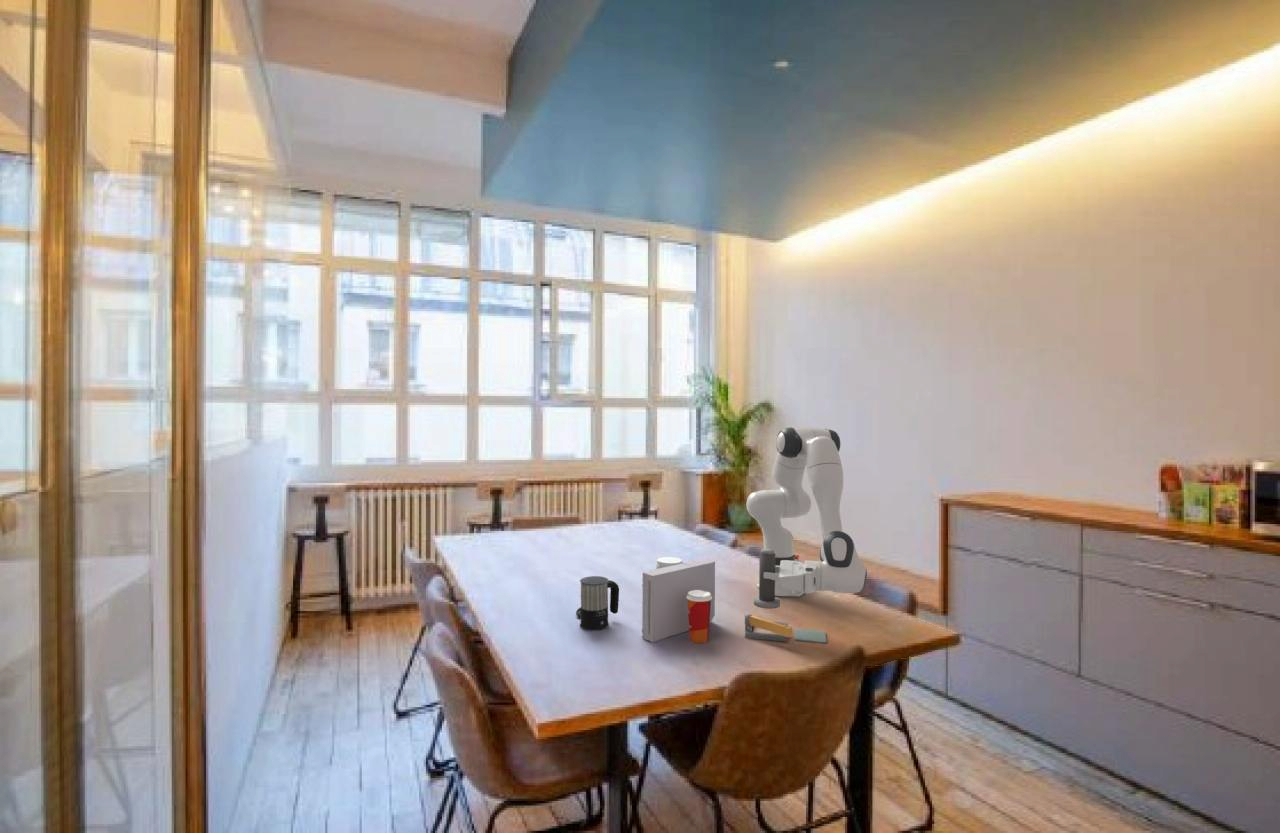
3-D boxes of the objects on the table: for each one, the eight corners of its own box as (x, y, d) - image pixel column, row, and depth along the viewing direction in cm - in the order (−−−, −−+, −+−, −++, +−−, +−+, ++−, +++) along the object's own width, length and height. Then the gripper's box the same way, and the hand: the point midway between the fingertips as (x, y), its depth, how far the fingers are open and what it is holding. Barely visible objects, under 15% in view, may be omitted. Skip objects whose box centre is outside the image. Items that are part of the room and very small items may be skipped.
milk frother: (596, 633, 185) (596, 585, 185) (557, 623, 194) (558, 577, 194) (623, 620, 197) (623, 575, 197) (585, 611, 206) (585, 568, 206)
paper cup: (695, 633, 186) (695, 587, 186) (716, 639, 181) (716, 592, 181) (680, 640, 180) (681, 593, 180) (702, 646, 175) (702, 598, 175)
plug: (754, 599, 192) (755, 546, 192) (780, 601, 190) (780, 548, 189) (752, 607, 184) (753, 552, 184) (779, 609, 182) (780, 554, 182)
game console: (639, 637, 182) (639, 571, 182) (701, 617, 200) (702, 558, 200) (651, 642, 178) (652, 575, 178) (714, 622, 195) (715, 561, 195)
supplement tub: (651, 602, 216) (651, 561, 216) (661, 594, 225) (661, 555, 225) (676, 605, 212) (677, 564, 212) (686, 598, 221) (686, 558, 221)
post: (745, 632, 186) (745, 622, 186) (751, 633, 185) (751, 623, 185) (744, 635, 184) (744, 624, 184) (751, 635, 184) (751, 625, 184)
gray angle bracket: (748, 623, 194) (748, 619, 194) (788, 627, 191) (788, 622, 191) (745, 637, 182) (745, 632, 182) (787, 641, 179) (787, 637, 179)
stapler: (743, 623, 185) (743, 615, 185) (747, 621, 186) (747, 613, 186) (787, 637, 173) (787, 628, 173) (792, 635, 175) (792, 626, 175)
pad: (795, 629, 189) (795, 628, 189) (825, 632, 186) (825, 631, 186) (795, 640, 180) (795, 639, 180) (826, 643, 178) (826, 642, 178)
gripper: (809, 556, 193) (766, 554, 197) (811, 574, 174) (762, 570, 177) (809, 576, 193) (766, 573, 197) (810, 595, 174) (762, 591, 177)
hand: (764, 572), depth 187 cm, fingers closed on plug, 5 cm apart
